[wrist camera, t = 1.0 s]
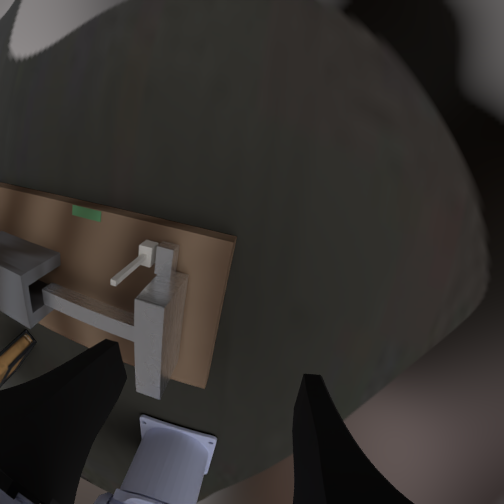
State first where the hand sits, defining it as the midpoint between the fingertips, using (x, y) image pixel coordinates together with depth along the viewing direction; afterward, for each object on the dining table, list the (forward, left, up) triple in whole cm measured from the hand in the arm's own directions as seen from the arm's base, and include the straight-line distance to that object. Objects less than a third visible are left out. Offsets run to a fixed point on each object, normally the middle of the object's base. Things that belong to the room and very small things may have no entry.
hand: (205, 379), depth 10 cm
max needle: (+1, +5, -7) cm, 9 cm away
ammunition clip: (-17, +24, -9) cm, 31 cm away
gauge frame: (-3, +13, -9) cm, 16 cm away
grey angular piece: (-2, +8, -7) cm, 11 cm away
